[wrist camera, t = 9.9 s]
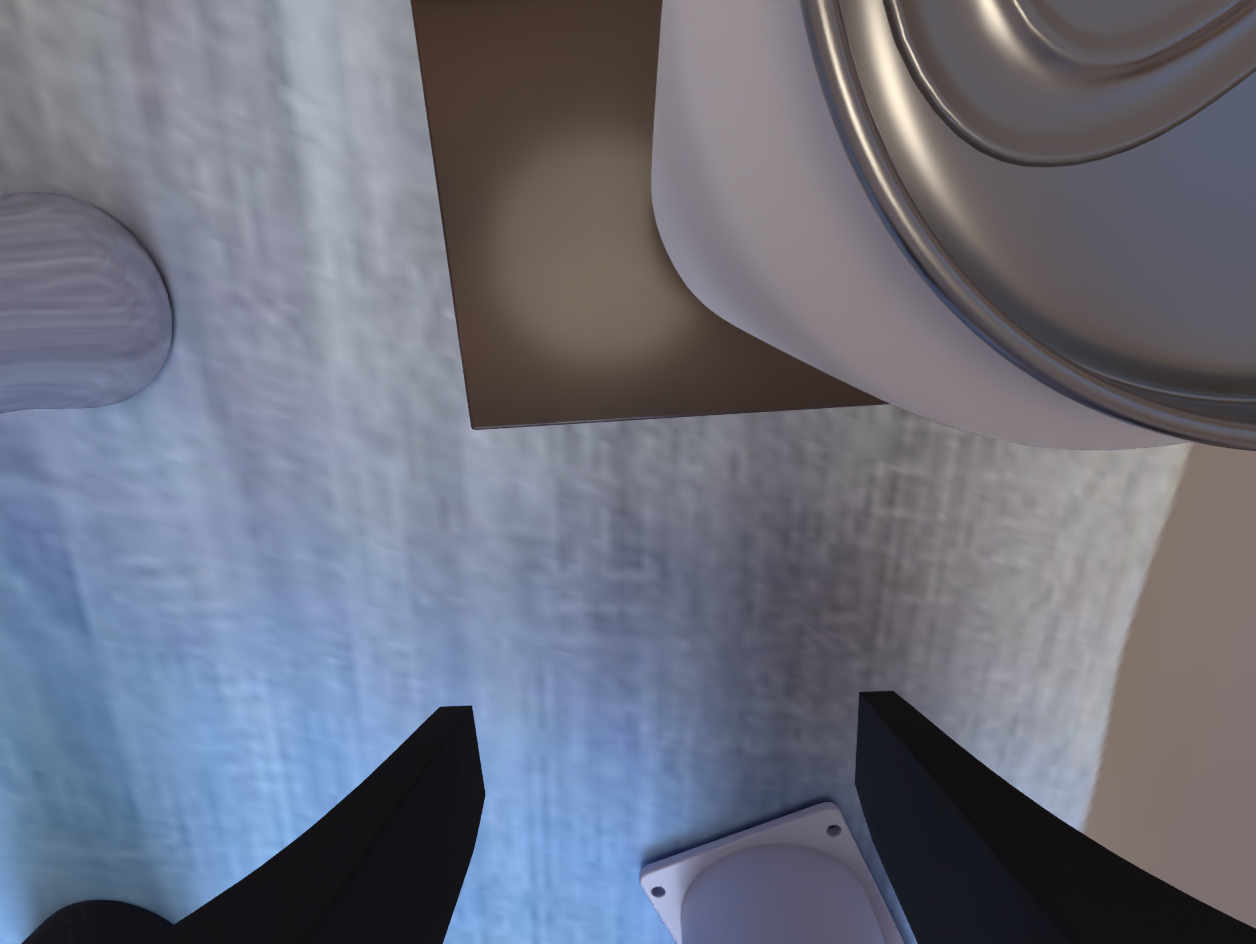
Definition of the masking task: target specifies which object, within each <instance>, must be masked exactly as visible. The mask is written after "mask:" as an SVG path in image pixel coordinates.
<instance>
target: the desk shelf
mask: <svg viewBox="0 0 1256 944" xmlns="http://www.w3.org/2000/svg"><path fill="white" fill-rule="evenodd" d="M662 2H663V0H411V7H412V14H413V21H414V28H415V35H416V42H417V49H418V56H419V63H420V70H421V77H422V85H423V92H424V99H425V106H426V113H427V120H428V127H429V134H430V141H431V148H432V155H433V162H434V169H435V176H436V183H437V190H438V197H439V204H440V211H441V218H442V225H443V232H444V239H445V246H446V253H447V260H448V267H449V274H450V282H451V289H452V296H453V303H454V310H455V317H456V324H457V331H458V338H459V345H460V352H461V359H462V366H463V373H464V380H465V387H466V394H467V401H468V408H469V415H470V422H471V427H472V429H474V430H482V429H498V428H514V427H530V426H546V425H562V424H578V423H594V422H610V421H626V420H642V419H658V418H674V417H691V416H707V415H723V414H739V413H755V412H771V411H787V410H803V409H819V408H835V407H851V406H867V405H883V404H890V403H887V402H885V401H883V400H881V399H879V398H876V397H874V396H872V395H870V394H868V393H866V392H864V391H862V390H860V389H858V388H856V387H853V386H851V385H849V384H847V383H845V382H843V381H841V380H839V379H837V378H835V377H833V376H831V375H829V374H827V373H825V372H823V371H821V370H819V369H817V368H815V367H813V366H811V365H809V364H807V363H805V362H803V361H801V360H799V359H797V358H795V357H793V356H791V355H789V354H787V353H785V352H783V351H781V350H779V349H777V348H775V347H774V346H772V345H770V344H768V343H766V342H764V341H762V340H760V339H758V338H756V337H754V336H752V335H751V334H749V333H747V332H745V331H743V330H741V329H740V328H738V327H736V326H734V325H732V324H731V323H729V322H727V321H726V320H724V319H723V318H721V317H720V316H718V315H717V314H715V313H714V312H713V311H711V310H710V309H709V308H708V307H706V306H705V305H704V304H703V303H702V302H701V301H700V300H699V299H698V298H697V297H696V296H695V295H694V294H693V293H692V292H691V291H690V289H689V288H688V287H687V286H686V284H685V283H684V281H683V280H682V278H681V277H680V275H679V274H678V272H677V270H676V269H675V267H674V265H673V263H672V261H671V259H670V257H669V255H668V253H667V251H666V249H665V247H664V244H663V242H662V239H661V237H660V234H659V231H658V227H657V224H656V220H655V216H654V211H653V204H652V196H651V167H652V146H653V129H654V114H655V99H656V84H657V69H658V55H659V41H660V27H661V14H662Z"/></svg>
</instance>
